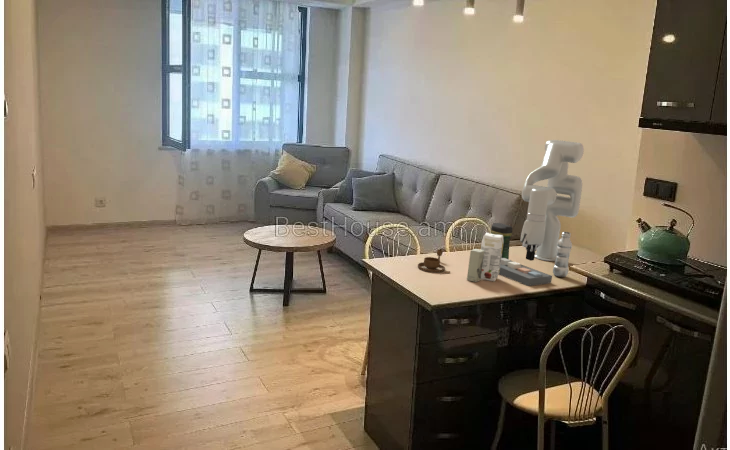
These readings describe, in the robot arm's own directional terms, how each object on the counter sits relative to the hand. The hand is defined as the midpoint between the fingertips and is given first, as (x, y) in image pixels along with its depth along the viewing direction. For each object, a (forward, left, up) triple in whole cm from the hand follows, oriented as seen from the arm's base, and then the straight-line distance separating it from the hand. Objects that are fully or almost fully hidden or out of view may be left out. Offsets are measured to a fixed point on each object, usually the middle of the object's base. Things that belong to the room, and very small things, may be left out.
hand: (529, 259), depth 272 cm
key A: (0, -8, -6) cm, 10 cm away
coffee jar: (-7, -25, -9) cm, 28 cm away
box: (+25, -6, -9) cm, 27 cm away
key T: (0, -2, -7) cm, 7 cm away
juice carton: (+17, -6, -9) cm, 20 cm away
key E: (0, +4, -7) cm, 8 cm away
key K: (0, -14, -6) cm, 15 cm away
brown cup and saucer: (+29, -26, -10) cm, 40 cm away
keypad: (0, -5, -9) cm, 10 cm away
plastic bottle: (-20, +1, -9) cm, 22 cm away
